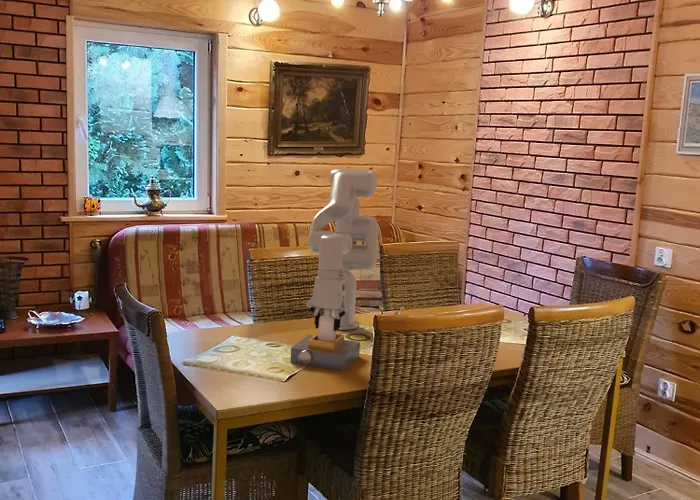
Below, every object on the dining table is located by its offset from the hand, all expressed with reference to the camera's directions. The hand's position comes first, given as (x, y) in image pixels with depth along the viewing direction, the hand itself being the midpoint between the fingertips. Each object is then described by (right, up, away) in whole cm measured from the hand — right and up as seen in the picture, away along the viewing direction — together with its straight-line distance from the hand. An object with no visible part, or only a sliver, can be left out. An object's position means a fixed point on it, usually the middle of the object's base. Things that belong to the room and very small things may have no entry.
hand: (327, 328), depth 233 cm
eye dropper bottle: (0, -4, +1) cm, 4 cm away
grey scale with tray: (-1, -10, +2) cm, 10 cm away
